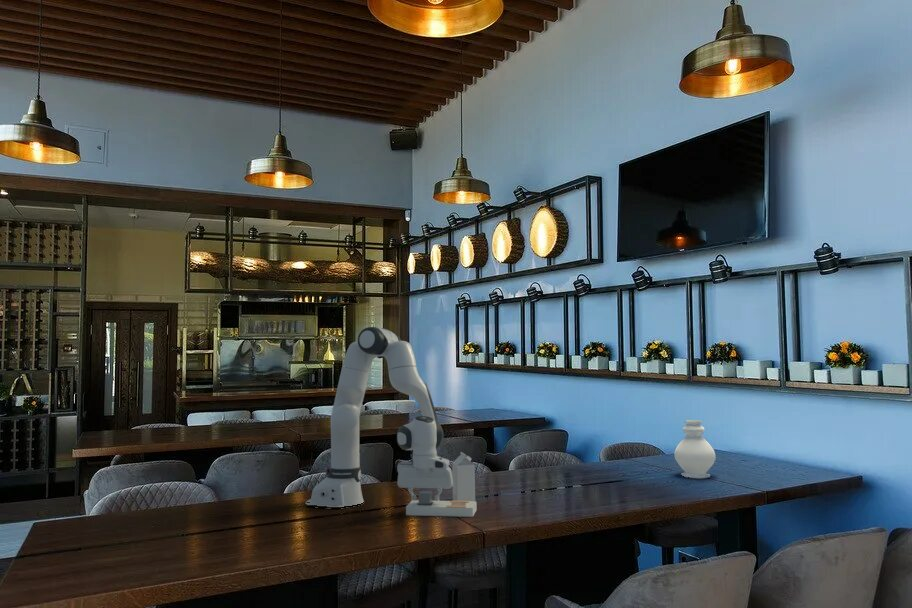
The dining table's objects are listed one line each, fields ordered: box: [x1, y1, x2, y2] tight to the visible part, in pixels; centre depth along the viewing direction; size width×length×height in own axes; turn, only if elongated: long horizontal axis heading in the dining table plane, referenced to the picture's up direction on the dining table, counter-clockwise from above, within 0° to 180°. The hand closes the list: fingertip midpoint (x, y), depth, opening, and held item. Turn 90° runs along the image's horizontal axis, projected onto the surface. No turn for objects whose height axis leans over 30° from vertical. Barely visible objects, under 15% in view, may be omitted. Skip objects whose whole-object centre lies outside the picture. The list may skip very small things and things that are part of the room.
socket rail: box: [405, 499, 478, 518], centre depth 238 cm, size 24×10×4 cm, turn 81°
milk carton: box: [451, 451, 476, 501], centre depth 258 cm, size 7×7×19 cm
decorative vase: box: [673, 419, 717, 479], centre depth 304 cm, size 18×18×25 cm
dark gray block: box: [418, 490, 433, 505], centre depth 239 cm, size 4×4×7 cm
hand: (425, 500), depth 239 cm, fingers open, 7 cm apart
